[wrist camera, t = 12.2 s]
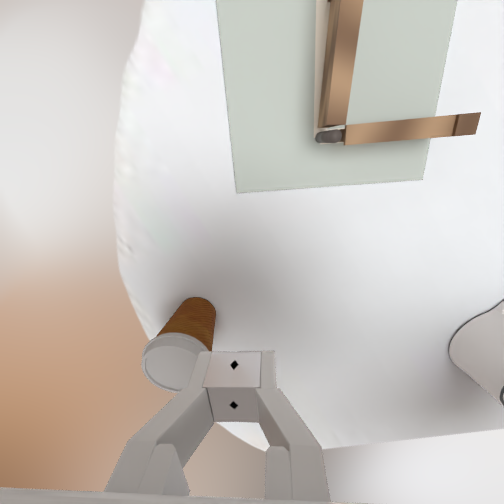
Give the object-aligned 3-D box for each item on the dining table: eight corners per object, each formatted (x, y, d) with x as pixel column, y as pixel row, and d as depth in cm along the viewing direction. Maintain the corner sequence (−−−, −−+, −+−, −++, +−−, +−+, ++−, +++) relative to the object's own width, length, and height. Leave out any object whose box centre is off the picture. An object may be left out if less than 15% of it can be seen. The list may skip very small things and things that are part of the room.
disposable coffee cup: (230, 330, 44) (217, 393, 33) (179, 335, 45) (151, 397, 34) (218, 285, 40) (200, 339, 29) (163, 291, 41) (126, 346, 31)
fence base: (433, 118, 29) (484, 111, 22) (430, 135, 29) (478, 134, 23) (315, 129, 30) (329, 126, 23) (315, 145, 30) (328, 147, 24)
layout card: (461, -36, 24) (465, -39, 23) (420, 179, 32) (422, 179, 31) (216, -1, 26) (215, -3, 25) (236, 192, 34) (236, 193, 33)
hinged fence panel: (330, 127, 29) (345, 124, 23) (315, 127, 29) (326, 124, 23) (348, -24, 23) (374, -76, 18) (329, -23, 24) (349, -75, 18)
